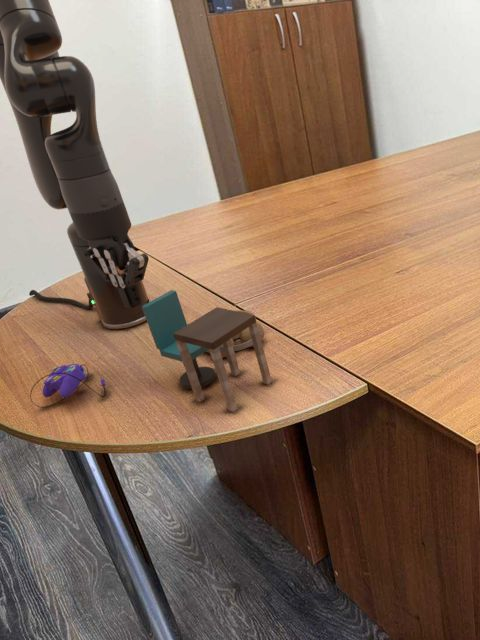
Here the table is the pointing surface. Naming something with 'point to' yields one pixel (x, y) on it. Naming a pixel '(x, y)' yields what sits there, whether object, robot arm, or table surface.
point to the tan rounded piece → (242, 338)
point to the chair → (163, 323)
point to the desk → (211, 335)
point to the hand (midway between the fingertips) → (133, 305)
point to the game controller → (65, 381)
